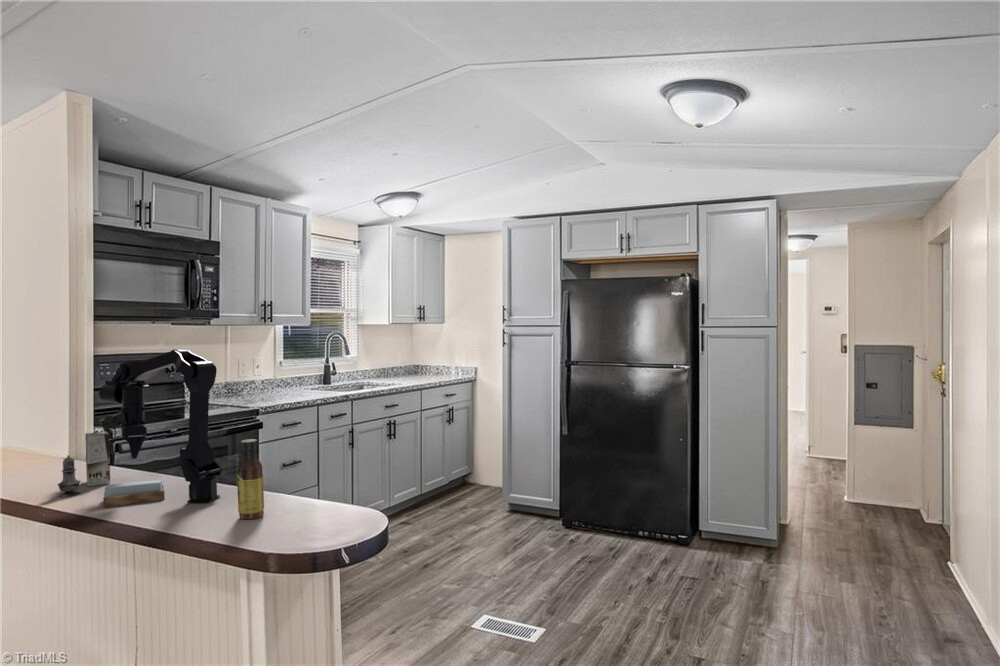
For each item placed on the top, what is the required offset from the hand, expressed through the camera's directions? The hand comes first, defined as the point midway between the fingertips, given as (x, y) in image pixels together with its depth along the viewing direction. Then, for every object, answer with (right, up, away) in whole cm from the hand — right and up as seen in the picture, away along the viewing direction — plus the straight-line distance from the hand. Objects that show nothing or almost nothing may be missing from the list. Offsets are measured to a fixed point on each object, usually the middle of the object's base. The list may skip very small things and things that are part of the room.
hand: (133, 455), depth 193 cm
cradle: (+4, -12, -6) cm, 14 cm away
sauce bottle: (+45, -11, -26) cm, 53 cm away
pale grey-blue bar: (+4, -12, -6) cm, 14 cm away
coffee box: (-21, -12, +17) cm, 30 cm away
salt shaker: (-20, -12, +2) cm, 24 cm away
